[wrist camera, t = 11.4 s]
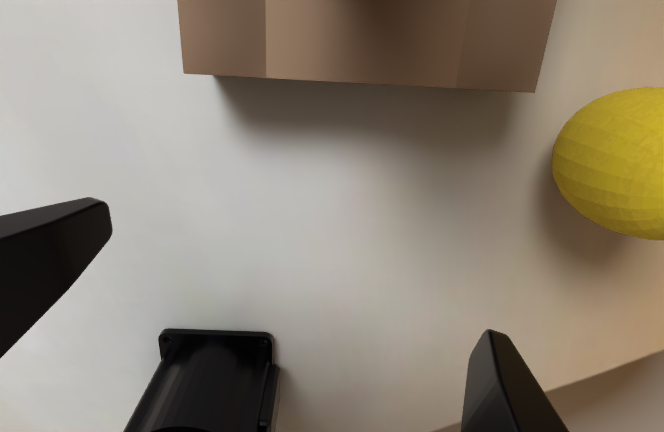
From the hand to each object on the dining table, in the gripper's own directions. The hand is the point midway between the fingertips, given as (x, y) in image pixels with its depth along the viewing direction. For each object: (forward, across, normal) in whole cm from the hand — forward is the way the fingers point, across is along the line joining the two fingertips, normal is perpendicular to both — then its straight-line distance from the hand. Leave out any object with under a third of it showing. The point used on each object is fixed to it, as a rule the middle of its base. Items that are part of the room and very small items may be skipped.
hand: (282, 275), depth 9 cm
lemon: (+15, -10, 0) cm, 17 cm away
